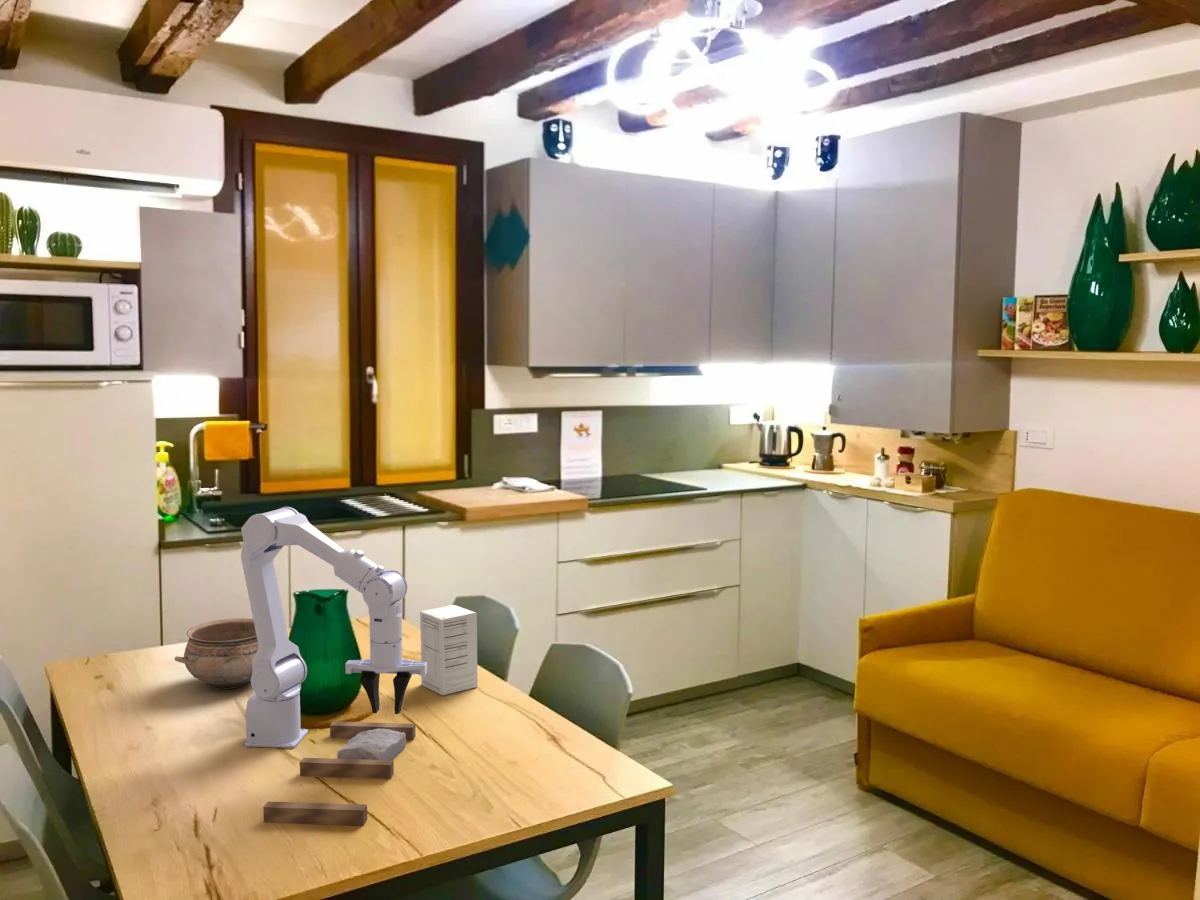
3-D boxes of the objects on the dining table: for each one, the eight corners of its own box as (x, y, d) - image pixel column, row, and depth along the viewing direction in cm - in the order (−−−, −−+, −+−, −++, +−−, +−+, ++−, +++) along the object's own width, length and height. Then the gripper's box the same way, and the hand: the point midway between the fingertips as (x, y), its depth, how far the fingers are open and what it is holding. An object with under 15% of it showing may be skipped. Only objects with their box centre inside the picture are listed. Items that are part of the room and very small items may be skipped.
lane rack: (263, 822, 161) (263, 807, 160) (333, 733, 196) (333, 721, 196) (363, 825, 160) (363, 810, 160) (415, 736, 196) (415, 723, 195)
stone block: (334, 777, 182) (385, 772, 179) (329, 751, 181) (380, 745, 179) (363, 753, 193) (411, 748, 191) (358, 729, 193) (406, 723, 191)
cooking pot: (258, 660, 240) (257, 610, 238) (305, 678, 228) (304, 625, 226) (155, 688, 221) (152, 633, 219) (200, 709, 209) (197, 651, 207)
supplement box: (478, 687, 223) (478, 612, 221) (442, 696, 217) (442, 619, 215) (455, 676, 231) (455, 603, 229) (419, 684, 225) (419, 610, 223)
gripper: (339, 644, 180) (341, 718, 182) (420, 646, 180) (421, 721, 181) (351, 633, 187) (352, 704, 189) (429, 635, 187) (429, 706, 188)
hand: (386, 711), depth 185 cm, fingers open, 3 cm apart
